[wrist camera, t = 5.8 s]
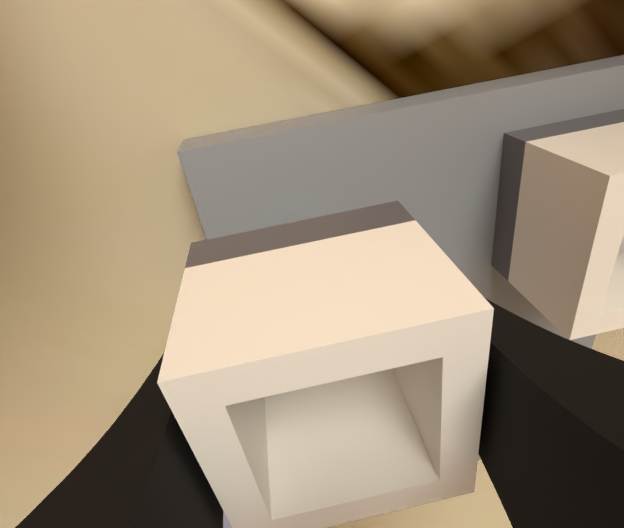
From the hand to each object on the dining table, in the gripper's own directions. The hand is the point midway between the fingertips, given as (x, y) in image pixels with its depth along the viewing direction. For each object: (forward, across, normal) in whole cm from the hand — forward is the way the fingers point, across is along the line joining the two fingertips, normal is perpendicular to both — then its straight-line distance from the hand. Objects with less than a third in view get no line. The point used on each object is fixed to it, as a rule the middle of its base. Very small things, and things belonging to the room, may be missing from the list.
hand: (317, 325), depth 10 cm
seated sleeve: (+4, -10, 0) cm, 11 cm away
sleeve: (+1, 0, 0) cm, 1 cm away
